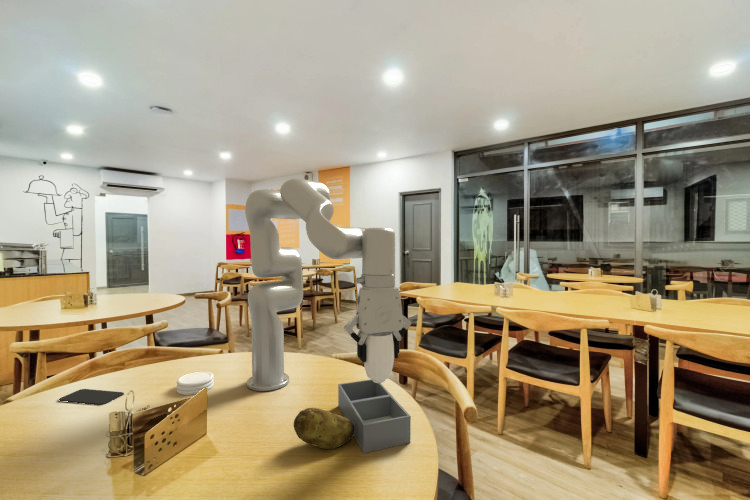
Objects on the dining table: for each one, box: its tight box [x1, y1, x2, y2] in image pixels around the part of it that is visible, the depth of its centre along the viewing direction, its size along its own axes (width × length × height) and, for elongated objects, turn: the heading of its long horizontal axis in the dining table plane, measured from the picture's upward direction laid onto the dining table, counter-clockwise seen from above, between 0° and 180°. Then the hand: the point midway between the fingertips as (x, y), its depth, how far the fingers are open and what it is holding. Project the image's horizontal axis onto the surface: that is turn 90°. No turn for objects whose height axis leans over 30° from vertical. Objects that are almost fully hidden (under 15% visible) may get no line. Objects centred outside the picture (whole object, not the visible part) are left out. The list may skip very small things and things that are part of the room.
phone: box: [58, 388, 125, 406], centre depth 100 cm, size 7×1×15 cm
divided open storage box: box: [337, 378, 412, 454], centre depth 87 cm, size 22×11×6 cm, turn 20°
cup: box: [363, 332, 395, 384], centre depth 81 cm, size 7×7×21 cm
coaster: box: [176, 371, 215, 396], centre depth 107 cm, size 10×10×4 cm
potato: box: [293, 407, 354, 450], centre depth 77 cm, size 8×13×8 cm, turn 87°
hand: (378, 357), depth 81 cm, fingers closed on cup, 7 cm apart
